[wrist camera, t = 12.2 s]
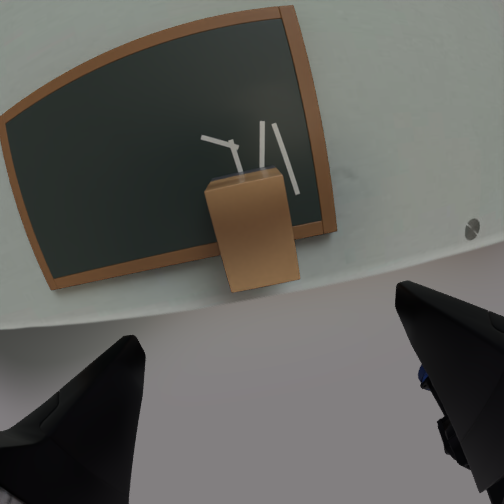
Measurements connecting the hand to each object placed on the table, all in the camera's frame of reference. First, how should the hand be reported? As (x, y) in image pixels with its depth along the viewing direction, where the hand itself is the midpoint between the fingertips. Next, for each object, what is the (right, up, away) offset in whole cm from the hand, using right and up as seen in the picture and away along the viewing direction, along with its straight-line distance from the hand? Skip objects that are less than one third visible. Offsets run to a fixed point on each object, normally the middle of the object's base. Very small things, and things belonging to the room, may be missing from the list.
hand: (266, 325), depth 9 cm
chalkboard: (-8, +9, +9) cm, 15 cm away
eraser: (0, +5, +10) cm, 11 cm away
